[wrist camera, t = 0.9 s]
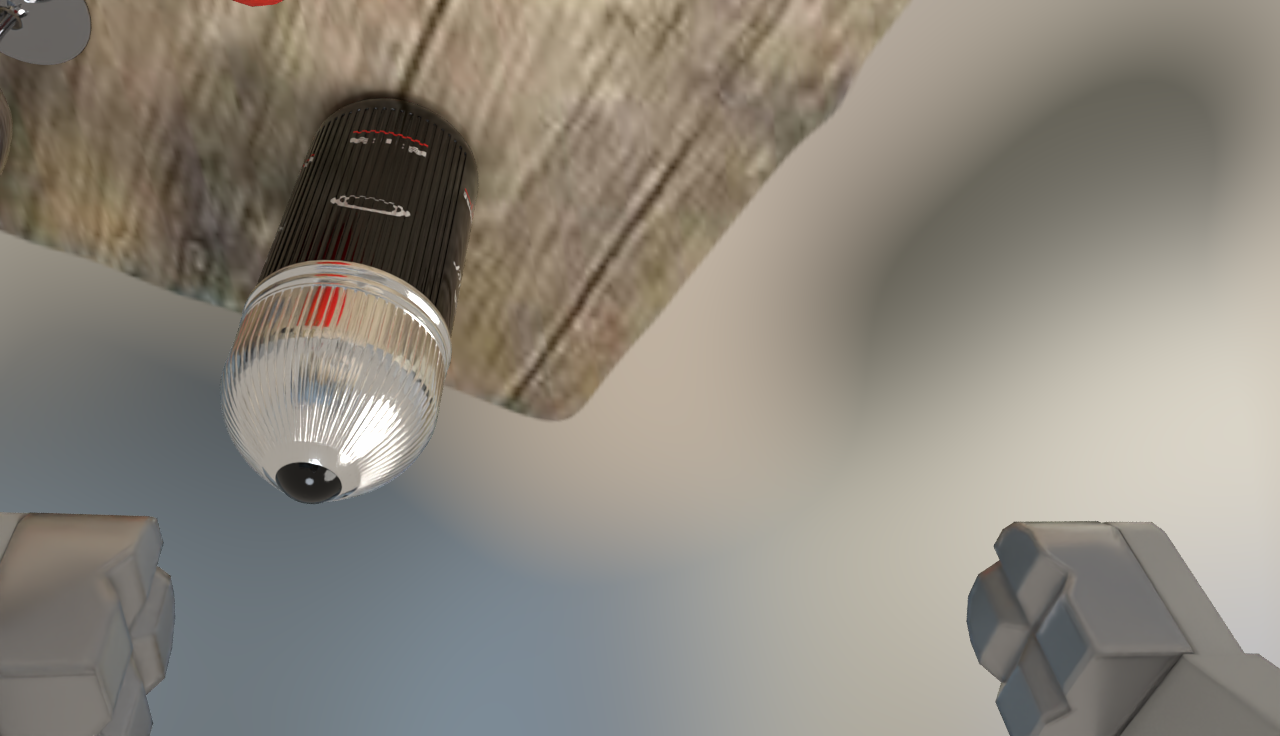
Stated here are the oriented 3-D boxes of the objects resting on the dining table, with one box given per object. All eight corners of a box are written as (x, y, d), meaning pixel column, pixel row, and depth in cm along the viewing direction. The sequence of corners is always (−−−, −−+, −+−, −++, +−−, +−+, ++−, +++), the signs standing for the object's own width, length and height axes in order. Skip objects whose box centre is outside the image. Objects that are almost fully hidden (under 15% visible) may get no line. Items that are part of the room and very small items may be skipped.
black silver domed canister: (310, 212, 66) (191, 546, 49) (311, 69, 59) (171, 401, 41) (473, 241, 68) (414, 574, 50) (494, 105, 60) (433, 439, 43)
